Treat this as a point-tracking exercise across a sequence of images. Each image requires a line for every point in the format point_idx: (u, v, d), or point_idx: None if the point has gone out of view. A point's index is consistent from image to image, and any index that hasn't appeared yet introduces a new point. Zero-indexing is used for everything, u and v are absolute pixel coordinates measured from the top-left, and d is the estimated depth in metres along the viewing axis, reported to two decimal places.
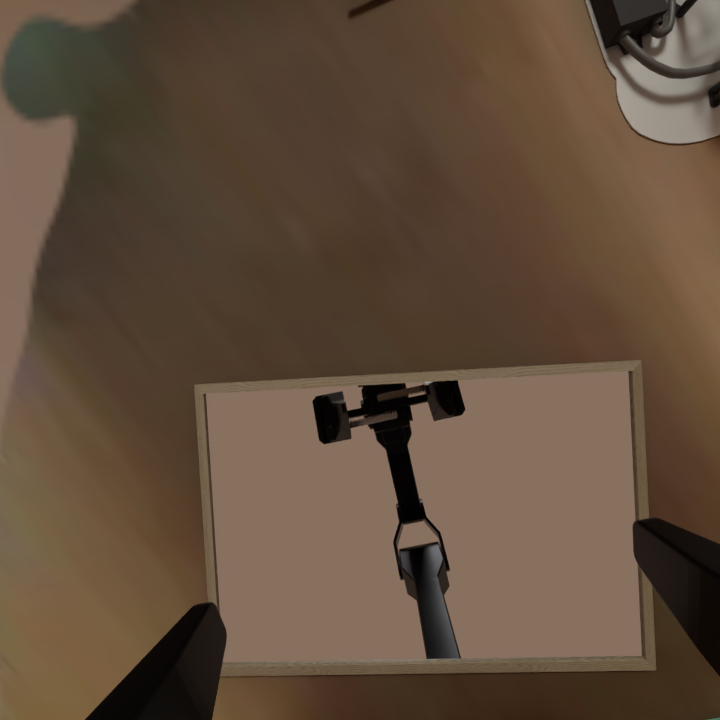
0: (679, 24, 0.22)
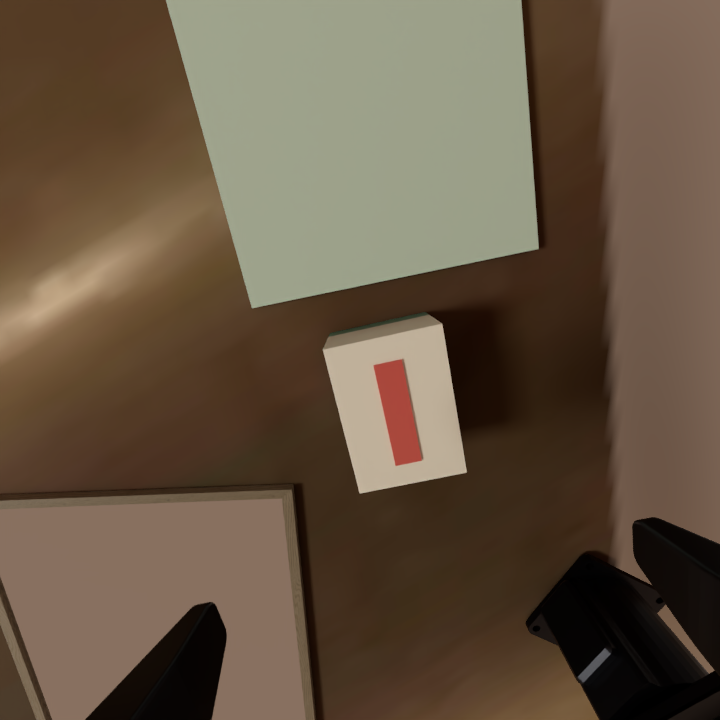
0: None
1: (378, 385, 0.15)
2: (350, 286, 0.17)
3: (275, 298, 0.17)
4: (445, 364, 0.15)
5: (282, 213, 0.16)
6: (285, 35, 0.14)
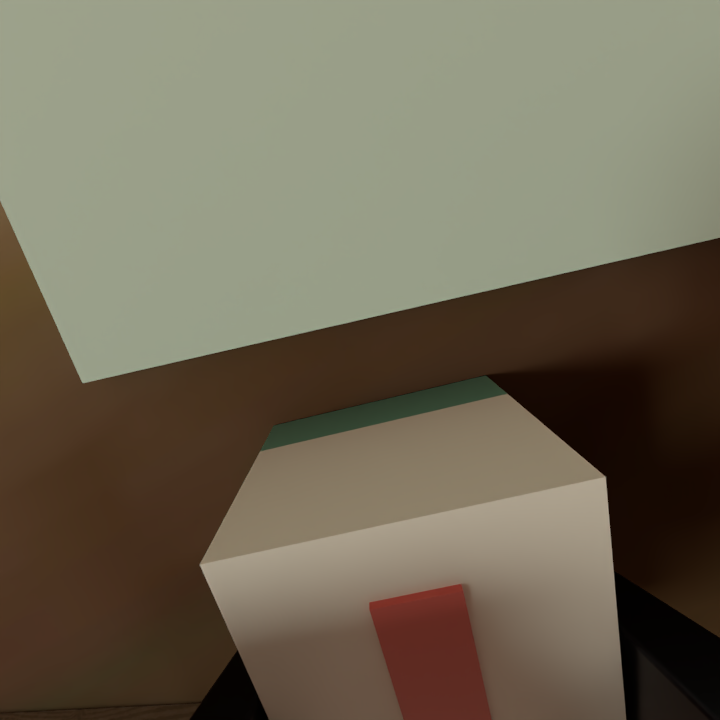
0: None
1: (387, 655, 0.05)
2: (312, 327, 0.07)
3: (135, 360, 0.07)
4: (605, 595, 0.05)
5: (125, 147, 0.06)
6: None
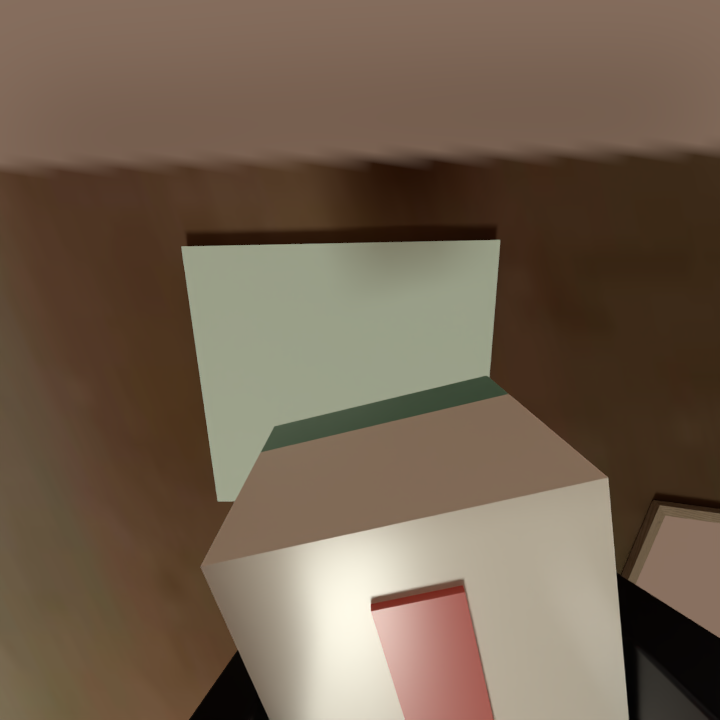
0: None
1: (388, 656, 0.05)
2: None
3: None
4: (607, 596, 0.05)
5: None
6: None
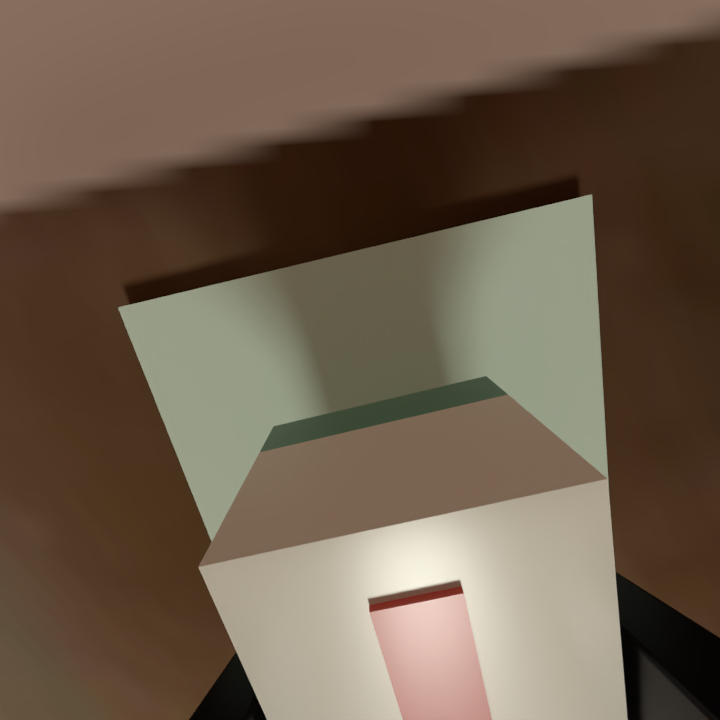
0: None
1: (387, 657, 0.05)
2: (604, 460, 0.13)
3: None
4: (607, 598, 0.05)
5: None
6: None
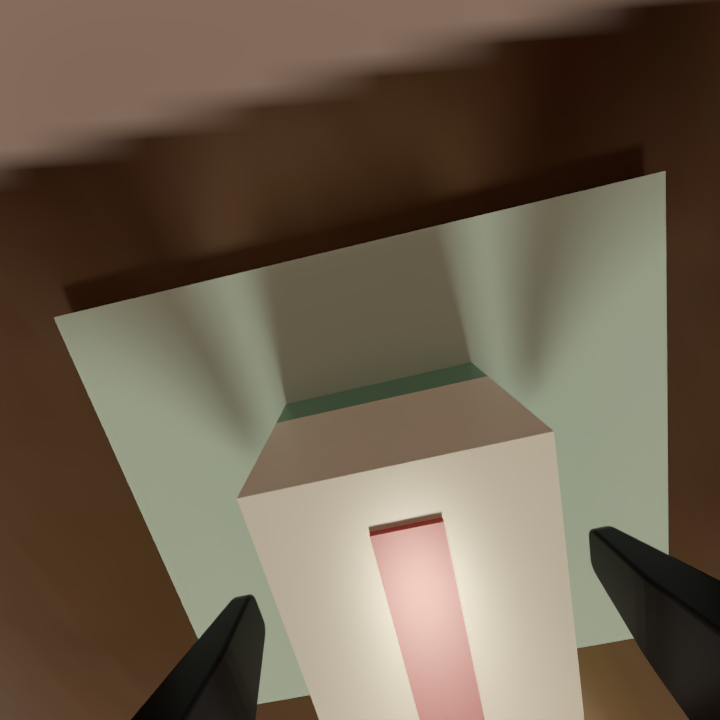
0: None
1: (383, 577, 0.06)
2: (665, 504, 0.10)
3: None
4: (556, 528, 0.06)
5: None
6: None
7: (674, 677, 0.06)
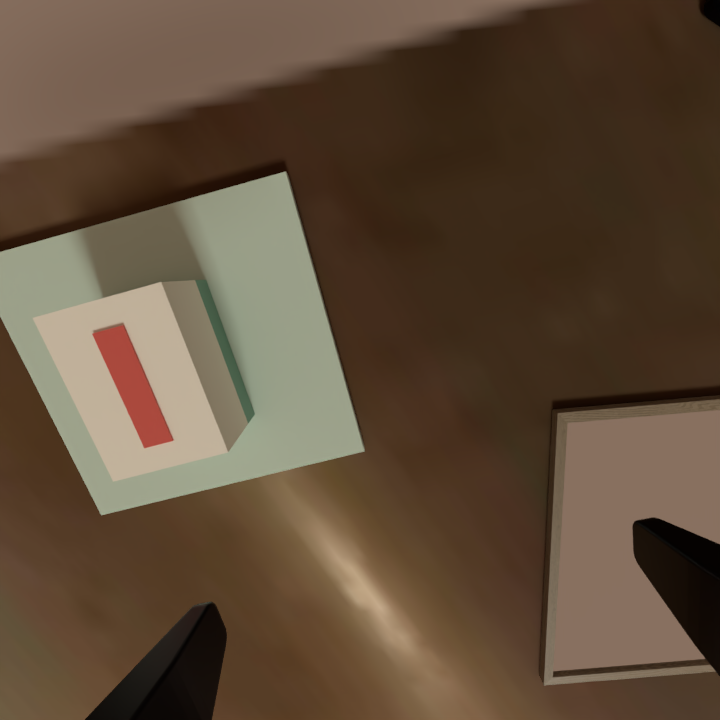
0: None
1: (105, 357, 0.13)
2: (338, 364, 0.18)
3: (354, 431, 0.19)
4: (176, 329, 0.13)
5: (279, 425, 0.18)
6: None
7: None
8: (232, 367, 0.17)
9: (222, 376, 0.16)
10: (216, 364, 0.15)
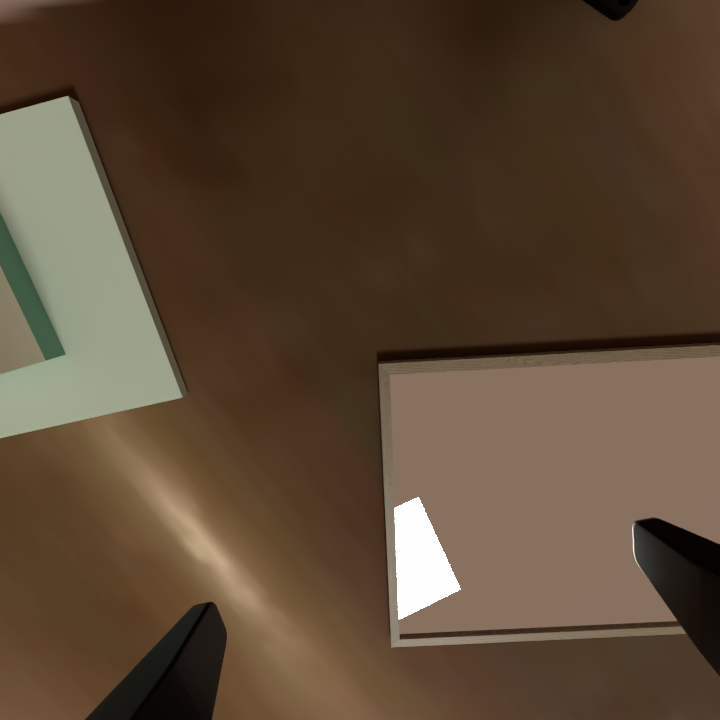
0: None
1: None
2: (146, 305, 0.17)
3: (170, 376, 0.18)
4: None
5: (92, 367, 0.18)
6: None
7: None
8: (28, 302, 0.17)
9: (1, 306, 0.15)
10: None
